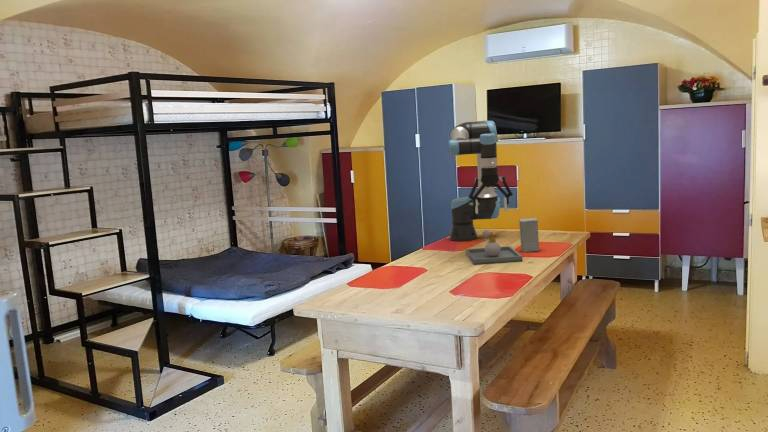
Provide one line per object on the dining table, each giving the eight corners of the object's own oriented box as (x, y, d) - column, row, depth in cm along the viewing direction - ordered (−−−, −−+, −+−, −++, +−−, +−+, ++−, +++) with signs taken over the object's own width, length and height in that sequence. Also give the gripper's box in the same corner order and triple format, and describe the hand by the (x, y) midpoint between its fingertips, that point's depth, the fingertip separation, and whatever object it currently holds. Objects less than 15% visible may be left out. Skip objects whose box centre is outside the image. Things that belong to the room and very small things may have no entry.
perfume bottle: (496, 258, 285) (495, 233, 283) (477, 256, 291) (476, 232, 289) (503, 255, 291) (502, 230, 289) (485, 253, 297) (484, 229, 295)
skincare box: (537, 248, 304) (536, 217, 302) (539, 251, 297) (538, 219, 295) (520, 249, 305) (518, 218, 303) (521, 252, 298) (520, 220, 296)
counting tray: (466, 254, 303) (465, 249, 302) (510, 251, 303) (510, 246, 303) (474, 264, 279) (474, 259, 279) (522, 261, 279) (522, 256, 279)
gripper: (463, 169, 281) (465, 215, 284) (517, 165, 281) (519, 211, 284) (461, 168, 289) (463, 212, 292) (514, 164, 289) (515, 209, 292)
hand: (491, 212), depth 288 cm, fingers open, 13 cm apart
